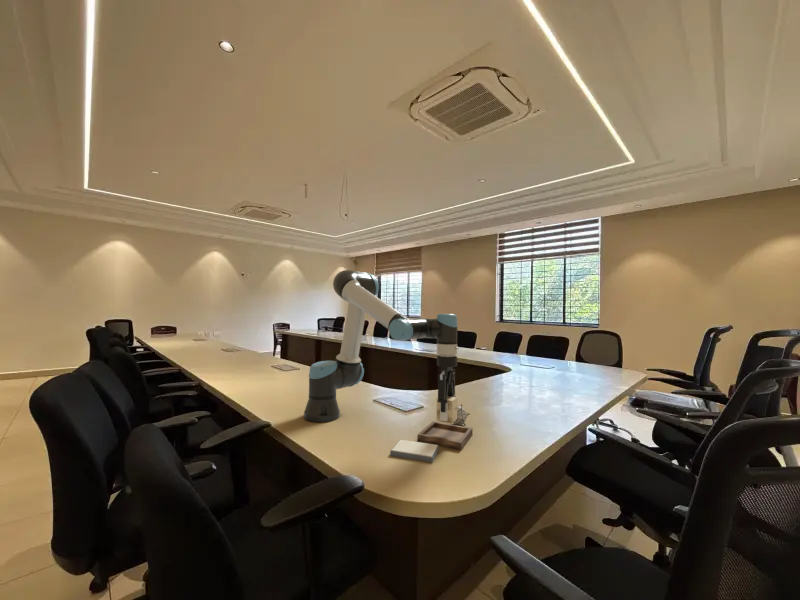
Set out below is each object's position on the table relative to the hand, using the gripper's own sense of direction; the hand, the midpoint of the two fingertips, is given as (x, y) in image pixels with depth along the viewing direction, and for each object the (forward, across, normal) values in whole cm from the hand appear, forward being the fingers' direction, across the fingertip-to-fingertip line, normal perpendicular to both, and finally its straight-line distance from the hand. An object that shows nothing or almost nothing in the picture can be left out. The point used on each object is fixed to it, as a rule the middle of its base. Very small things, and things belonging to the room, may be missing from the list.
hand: (446, 417), depth 124 cm
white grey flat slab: (+7, -17, +5) cm, 19 cm away
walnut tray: (+7, 0, 0) cm, 7 cm away
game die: (+8, +16, 0) cm, 18 cm away
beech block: (+1, 0, 0) cm, 1 cm away
